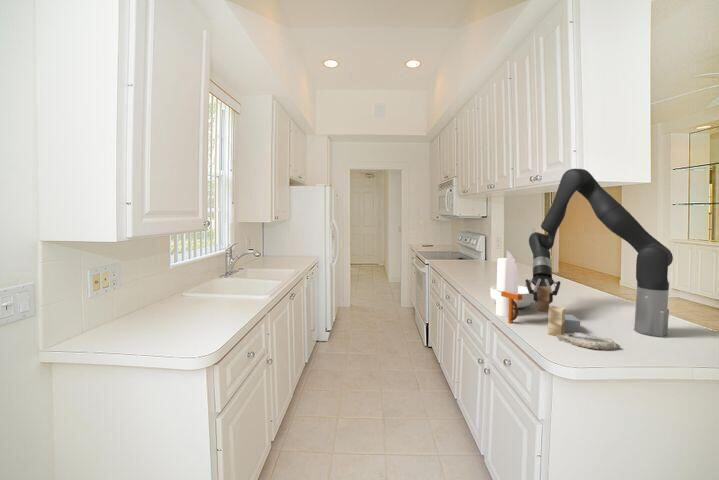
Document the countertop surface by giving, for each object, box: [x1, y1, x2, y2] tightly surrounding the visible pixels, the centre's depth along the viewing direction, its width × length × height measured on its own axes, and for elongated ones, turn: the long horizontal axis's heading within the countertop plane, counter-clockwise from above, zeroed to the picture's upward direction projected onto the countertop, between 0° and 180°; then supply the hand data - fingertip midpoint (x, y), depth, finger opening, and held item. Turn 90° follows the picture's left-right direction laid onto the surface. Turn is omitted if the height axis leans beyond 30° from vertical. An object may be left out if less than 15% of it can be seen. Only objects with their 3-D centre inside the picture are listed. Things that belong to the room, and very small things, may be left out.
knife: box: [501, 250, 522, 324], centre depth 145 cm, size 8×2×30 cm, turn 27°
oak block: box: [547, 305, 566, 337], centre depth 132 cm, size 4×4×10 cm
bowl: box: [490, 284, 535, 309], centre depth 172 cm, size 20×20×8 cm
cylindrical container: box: [495, 257, 516, 318], centre depth 157 cm, size 7×7×25 cm
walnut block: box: [536, 286, 550, 313], centre depth 149 cm, size 4×4×10 cm
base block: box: [564, 313, 581, 334], centre depth 138 cm, size 8×8×5 cm
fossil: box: [557, 332, 621, 351], centre depth 122 cm, size 18×10×3 cm, turn 52°
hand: (543, 301), depth 147 cm, fingers closed on walnut block, 4 cm apart
